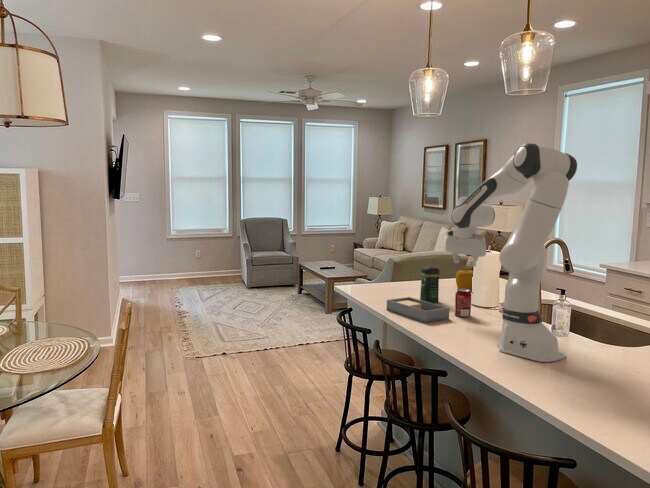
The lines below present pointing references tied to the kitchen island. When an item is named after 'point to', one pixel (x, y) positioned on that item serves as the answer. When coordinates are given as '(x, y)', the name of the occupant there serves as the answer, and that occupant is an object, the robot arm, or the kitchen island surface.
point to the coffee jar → (429, 284)
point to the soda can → (463, 303)
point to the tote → (419, 310)
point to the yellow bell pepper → (464, 279)
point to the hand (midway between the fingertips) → (464, 264)
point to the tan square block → (411, 304)
